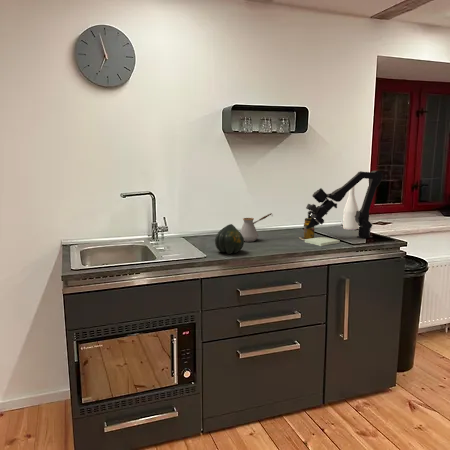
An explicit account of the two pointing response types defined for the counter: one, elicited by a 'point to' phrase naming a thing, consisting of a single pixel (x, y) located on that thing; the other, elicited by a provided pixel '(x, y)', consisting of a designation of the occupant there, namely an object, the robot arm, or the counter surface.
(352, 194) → the wine bottle
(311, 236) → the condiment
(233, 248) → the squash
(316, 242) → the board
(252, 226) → the coffee pot
